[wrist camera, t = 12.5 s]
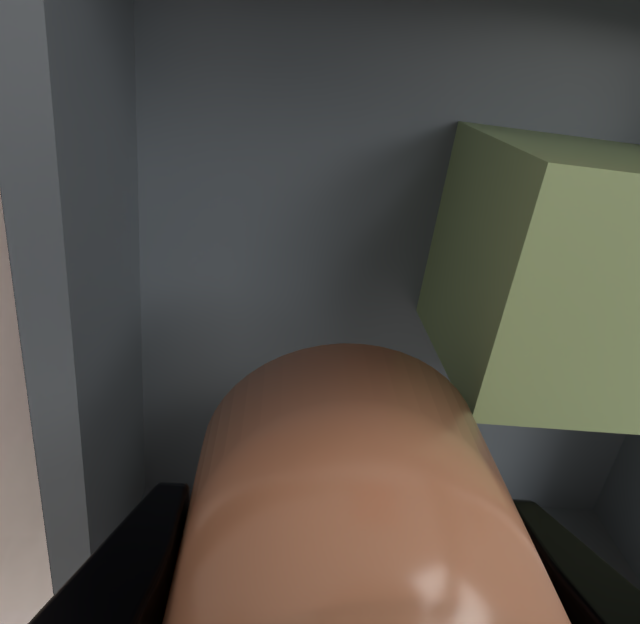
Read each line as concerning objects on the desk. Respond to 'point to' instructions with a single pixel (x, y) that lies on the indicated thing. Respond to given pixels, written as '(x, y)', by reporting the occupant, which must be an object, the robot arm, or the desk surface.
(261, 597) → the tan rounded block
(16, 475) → the desk surface
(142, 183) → the bin
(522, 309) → the green block
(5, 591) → the desk surface
